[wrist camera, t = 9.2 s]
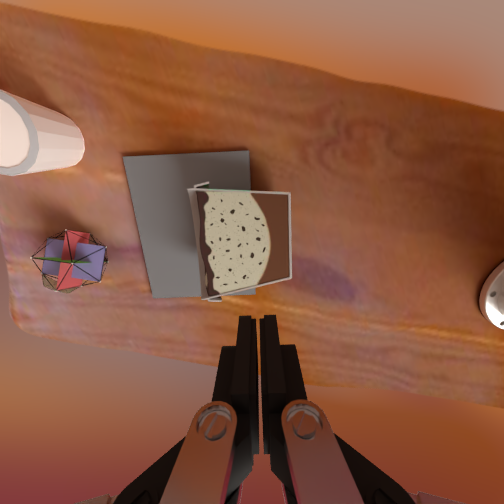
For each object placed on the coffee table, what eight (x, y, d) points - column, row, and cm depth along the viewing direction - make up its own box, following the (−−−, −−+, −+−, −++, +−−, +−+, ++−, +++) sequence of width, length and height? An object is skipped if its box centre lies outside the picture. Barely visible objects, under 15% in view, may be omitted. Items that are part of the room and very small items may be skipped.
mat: (249, 150, 27) (248, 150, 26) (255, 292, 33) (255, 294, 32) (125, 156, 27) (122, 156, 26) (154, 295, 33) (153, 298, 33)
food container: (272, 178, 29) (188, 183, 28) (290, 176, 24) (185, 182, 22) (275, 272, 33) (201, 282, 31) (292, 291, 27) (201, 304, 25)
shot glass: (97, 171, 28) (49, 174, 21) (39, 174, 28) (-27, 177, 21) (80, 103, 25) (19, 81, 19) (16, 106, 25) (-67, 86, 19)
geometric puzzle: (44, 209, 27) (-4, 271, 23) (106, 218, 27) (70, 281, 23) (76, 244, 33) (43, 299, 29) (126, 252, 33) (101, 307, 29)
